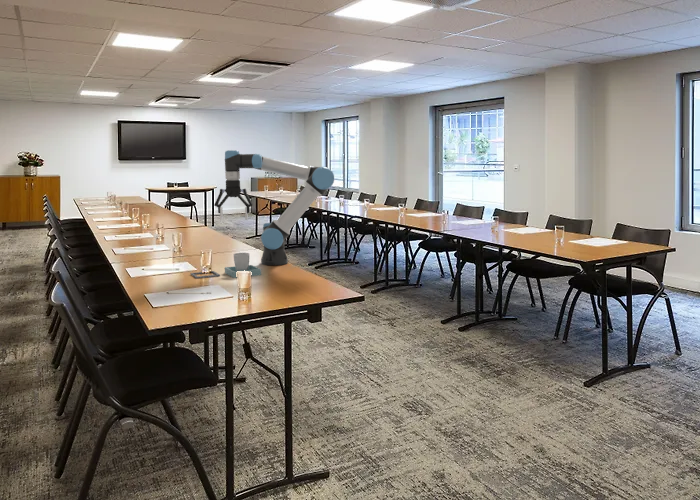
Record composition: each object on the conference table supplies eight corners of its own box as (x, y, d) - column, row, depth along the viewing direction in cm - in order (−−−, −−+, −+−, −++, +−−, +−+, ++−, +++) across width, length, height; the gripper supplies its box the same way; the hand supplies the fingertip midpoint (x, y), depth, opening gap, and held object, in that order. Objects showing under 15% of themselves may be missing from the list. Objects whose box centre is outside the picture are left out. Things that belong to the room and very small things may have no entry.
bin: (251, 270, 312) (251, 264, 312) (261, 274, 299) (261, 269, 299) (224, 273, 305) (224, 267, 305) (233, 277, 292) (233, 271, 292)
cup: (252, 273, 301) (251, 254, 299) (236, 275, 297) (236, 255, 295) (247, 270, 308) (246, 252, 306) (232, 272, 304) (231, 253, 302)
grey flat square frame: (213, 272, 307) (213, 270, 307) (220, 276, 297) (220, 274, 296) (190, 274, 301) (190, 273, 301) (196, 278, 291) (196, 277, 291)
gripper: (207, 180, 308) (209, 220, 311) (254, 179, 308) (255, 219, 311) (211, 179, 316) (212, 218, 319) (257, 179, 315) (258, 218, 318)
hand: (234, 219), depth 315 cm, fingers open, 13 cm apart
